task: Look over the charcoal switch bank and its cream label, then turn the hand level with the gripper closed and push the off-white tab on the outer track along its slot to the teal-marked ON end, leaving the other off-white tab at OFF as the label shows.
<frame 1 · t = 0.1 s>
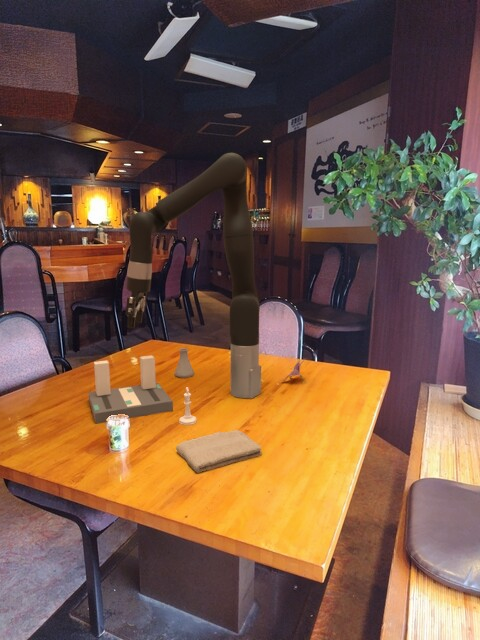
hand: (134, 325, 141), 22 cm above the table, tool pointing down, fingers open, 8 cm apart
switch bank: (129, 405, 132), on the table
tab b: (147, 372, 138), point 8 cm above the table, slide at 0.0 cm
lily: (295, 382, 155), on the table
flask: (184, 375, 161), on the table
chess piece: (187, 421, 121), on the table
tab a: (102, 378, 132), point 8 cm above the table, slide at 0.0 cm
washcloth: (219, 455, 104), on the table
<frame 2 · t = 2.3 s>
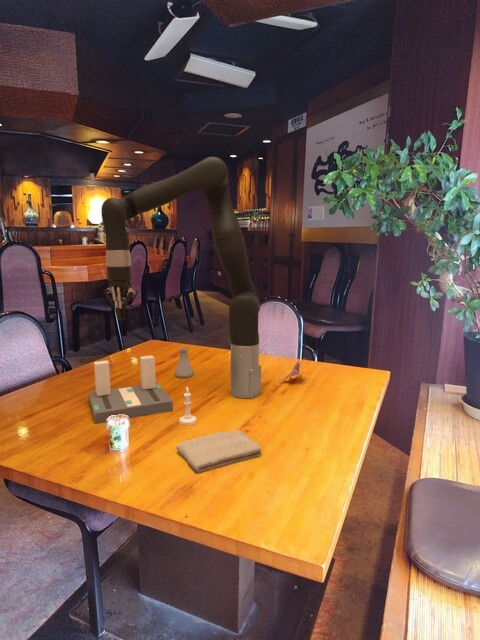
hand: (121, 319, 138), 25 cm above the table, tool pointing down, fingers closed
nothing on the table moved.
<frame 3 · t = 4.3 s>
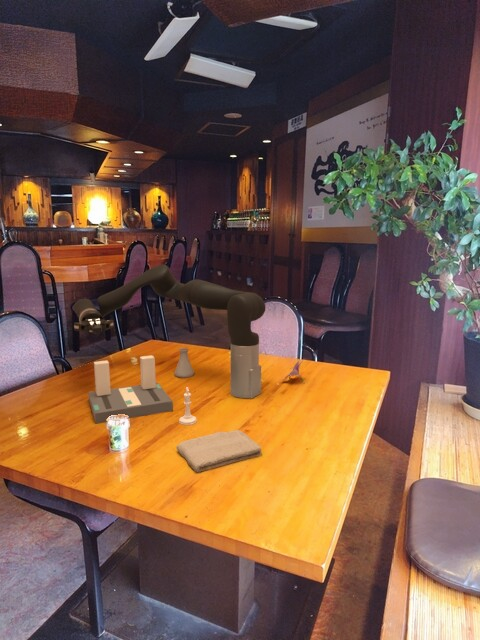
hand: (97, 330, 134), 22 cm above the table, tool horizontal, fingers closed
nothing on the table moved.
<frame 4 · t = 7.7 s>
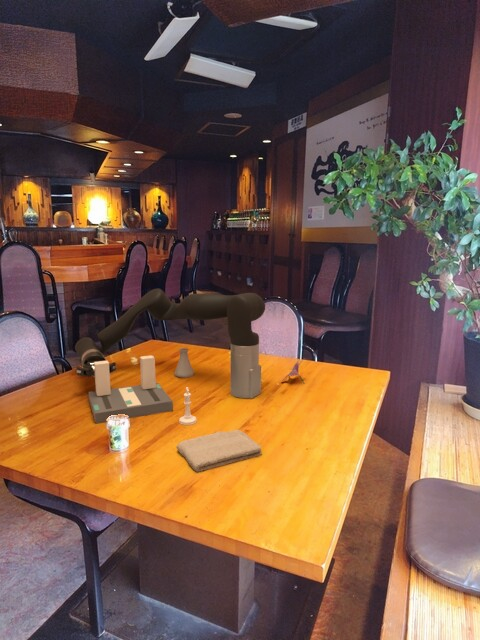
hand: (99, 376, 133), 9 cm above the table, tool horizontal, fingers closed
tab a: (102, 378, 132), point 8 cm above the table, slide at 0.1 cm, touching gripper
everything else where it was.
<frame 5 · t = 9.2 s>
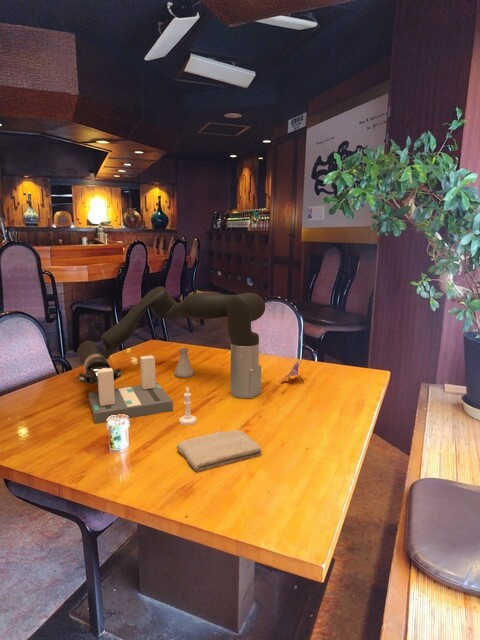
hand: (104, 383, 126), 9 cm above the table, tool horizontal, fingers closed
tab a: (106, 386, 125), point 8 cm above the table, slide at 8.4 cm, touching gripper
everything else where it was.
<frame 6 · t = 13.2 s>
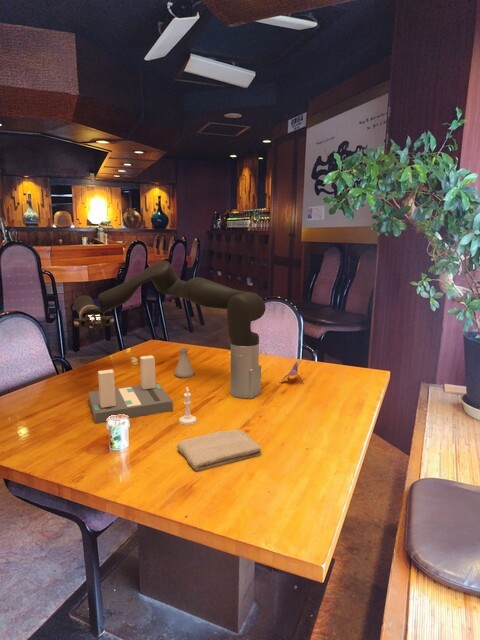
hand: (97, 326, 133), 24 cm above the table, tool horizontal, fingers closed
tab a: (106, 388, 123), point 8 cm above the table, slide at 9.9 cm
everything else where it was.
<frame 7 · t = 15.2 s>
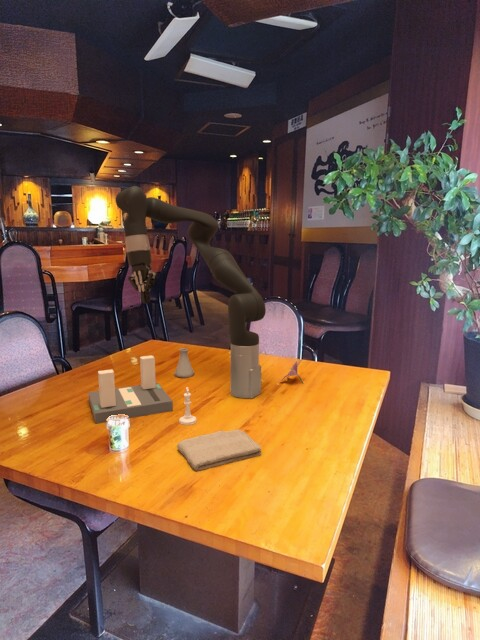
hand: (146, 302, 142), 29 cm above the table, tool pointing down, fingers closed
nothing on the table moved.
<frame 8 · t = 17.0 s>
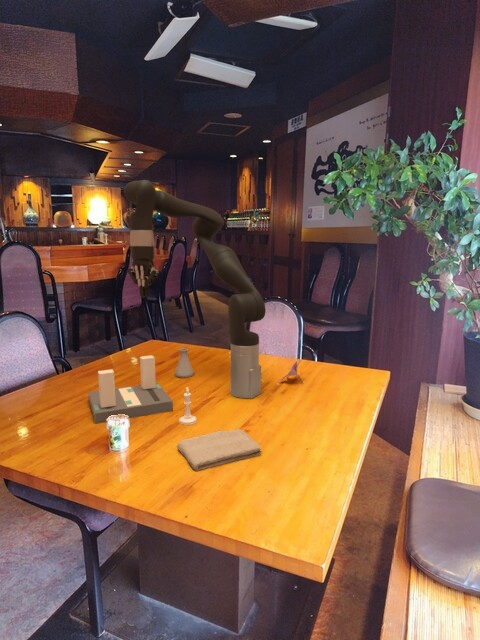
hand: (144, 297, 144), 31 cm above the table, tool pointing down, fingers closed
nothing on the table moved.
at the end: tab a slide at 9.9 cm; tab b slide at 0.0 cm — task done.
